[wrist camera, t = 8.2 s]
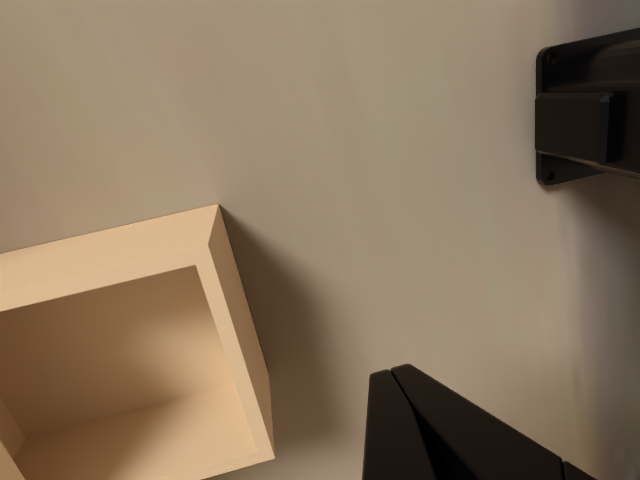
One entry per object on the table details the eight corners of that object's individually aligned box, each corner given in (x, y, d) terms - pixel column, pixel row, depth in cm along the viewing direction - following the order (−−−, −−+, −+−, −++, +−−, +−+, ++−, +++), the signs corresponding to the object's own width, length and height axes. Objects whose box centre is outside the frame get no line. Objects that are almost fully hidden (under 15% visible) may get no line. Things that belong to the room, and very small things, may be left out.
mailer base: (218, 203, 19) (207, 244, 14) (268, 376, 23) (275, 458, 18) (-78, 271, 18) (-206, 342, 13) (25, 441, 22) (-44, 549, 17)
